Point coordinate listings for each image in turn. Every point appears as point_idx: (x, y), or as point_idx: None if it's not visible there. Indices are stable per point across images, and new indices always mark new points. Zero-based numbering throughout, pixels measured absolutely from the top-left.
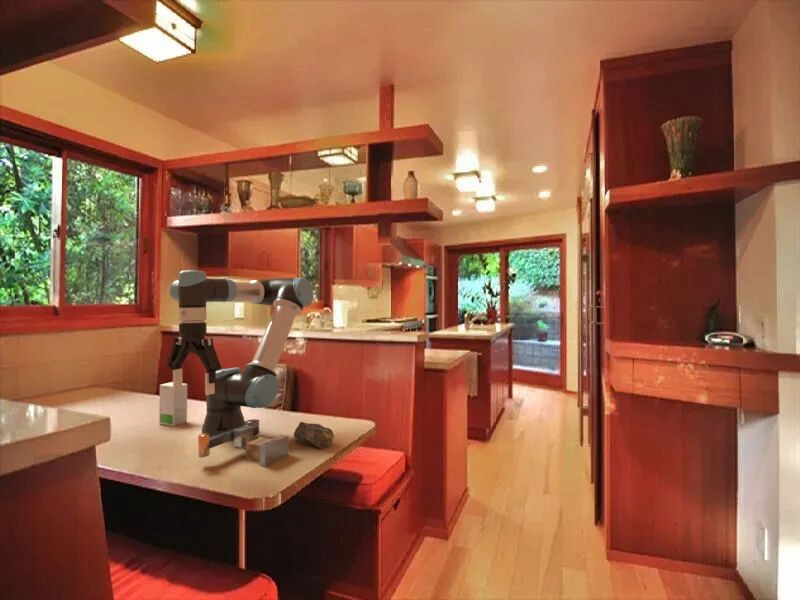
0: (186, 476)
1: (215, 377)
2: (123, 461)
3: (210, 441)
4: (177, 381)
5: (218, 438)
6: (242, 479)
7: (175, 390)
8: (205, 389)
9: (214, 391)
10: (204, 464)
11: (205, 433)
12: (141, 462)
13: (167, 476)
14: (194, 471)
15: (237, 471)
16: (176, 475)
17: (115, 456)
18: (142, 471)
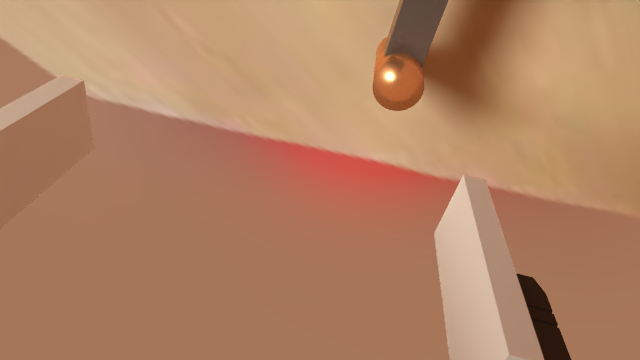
0: (391, 132)
1: (559, 331)
2: (89, 54)
3: (423, 60)
4: (32, 170)
5: (442, 13)
6: (597, 130)
7: (89, 148)
8: (440, 266)
9: (488, 192)
10: None
11: (393, 66)
12: (153, 53)
13: (332, 138)
14: None
15: (557, 74)
16: (354, 129)
17: (13, 17)
18: (227, 116)
